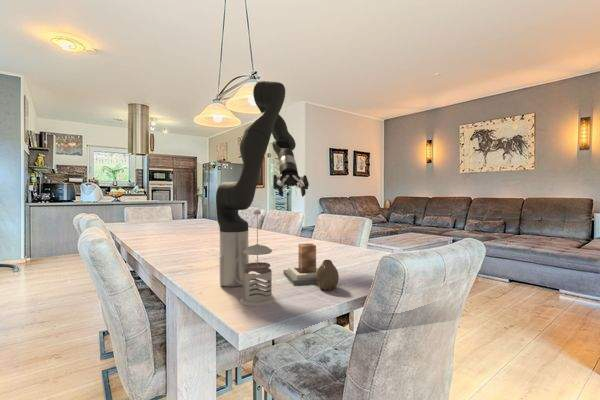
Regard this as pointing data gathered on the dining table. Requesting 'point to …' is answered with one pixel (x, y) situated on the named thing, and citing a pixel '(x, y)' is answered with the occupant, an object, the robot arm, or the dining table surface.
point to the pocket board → (300, 276)
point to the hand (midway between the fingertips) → (292, 195)
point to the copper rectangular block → (307, 258)
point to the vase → (327, 275)
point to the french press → (256, 276)
